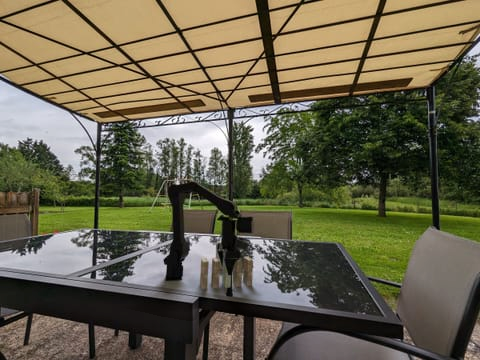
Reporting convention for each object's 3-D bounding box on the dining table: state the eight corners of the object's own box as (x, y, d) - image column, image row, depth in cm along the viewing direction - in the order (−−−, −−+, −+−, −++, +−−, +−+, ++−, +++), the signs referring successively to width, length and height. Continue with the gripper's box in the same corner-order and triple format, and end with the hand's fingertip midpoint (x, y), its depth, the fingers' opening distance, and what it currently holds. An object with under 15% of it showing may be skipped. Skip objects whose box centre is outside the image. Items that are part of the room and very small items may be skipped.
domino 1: (201, 289, 86) (203, 261, 87) (199, 283, 91) (201, 258, 92) (207, 289, 86) (208, 261, 87) (204, 283, 92) (206, 257, 93)
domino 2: (213, 288, 87) (215, 261, 88) (211, 283, 92) (212, 257, 94) (218, 288, 87) (220, 261, 88) (215, 282, 93) (217, 257, 94)
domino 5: (247, 286, 91) (248, 260, 92) (242, 281, 96) (243, 256, 97) (252, 285, 91) (253, 260, 92) (247, 280, 97) (248, 256, 98)
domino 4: (236, 286, 89) (237, 260, 90) (232, 281, 95) (233, 257, 96) (241, 286, 90) (242, 260, 91) (237, 281, 96) (238, 256, 97)
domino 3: (225, 287, 88) (226, 261, 89) (222, 282, 94) (223, 257, 95) (230, 287, 89) (231, 260, 90) (226, 282, 94) (227, 257, 95)
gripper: (255, 235, 87) (253, 278, 85) (240, 229, 105) (239, 264, 103) (226, 235, 84) (224, 279, 82) (216, 229, 101) (214, 265, 100)
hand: (226, 271), depth 92 cm, fingers open, 9 cm apart
